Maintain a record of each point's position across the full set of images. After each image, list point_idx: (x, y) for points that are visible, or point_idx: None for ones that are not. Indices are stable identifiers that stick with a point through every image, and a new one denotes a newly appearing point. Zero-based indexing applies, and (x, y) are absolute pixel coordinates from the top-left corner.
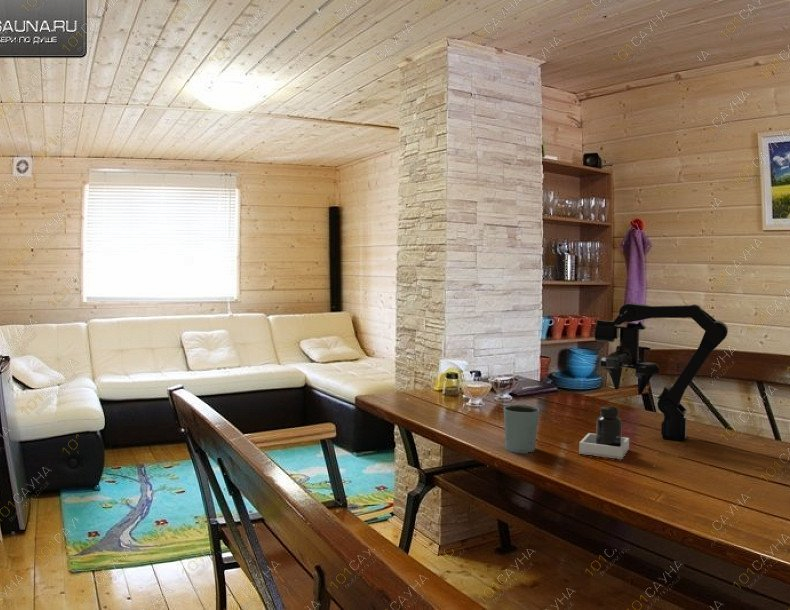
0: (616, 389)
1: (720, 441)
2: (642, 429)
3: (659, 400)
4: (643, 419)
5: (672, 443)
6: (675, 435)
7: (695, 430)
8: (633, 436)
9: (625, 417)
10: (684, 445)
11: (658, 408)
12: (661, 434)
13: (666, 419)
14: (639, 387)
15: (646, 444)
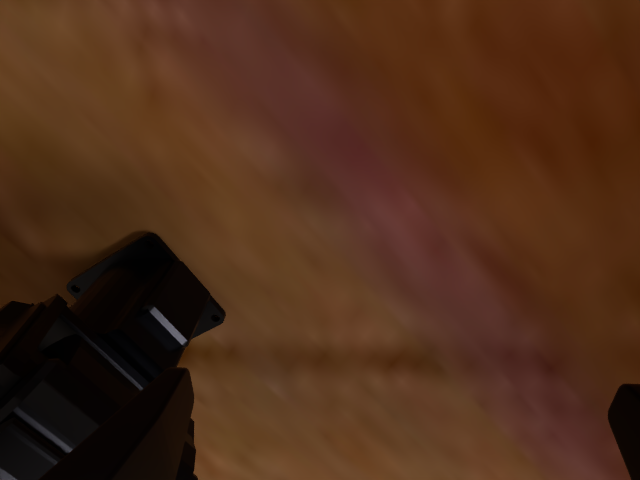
0: (619, 389)
1: None
2: (361, 301)
3: (4, 403)
4: (487, 440)
5: (58, 203)
6: (95, 280)
7: (222, 453)
8: (273, 132)
9: (577, 412)
10: (6, 223)
11: (80, 345)
12: (178, 261)
13: (53, 298)
14: (83, 451)
15: (79, 38)
